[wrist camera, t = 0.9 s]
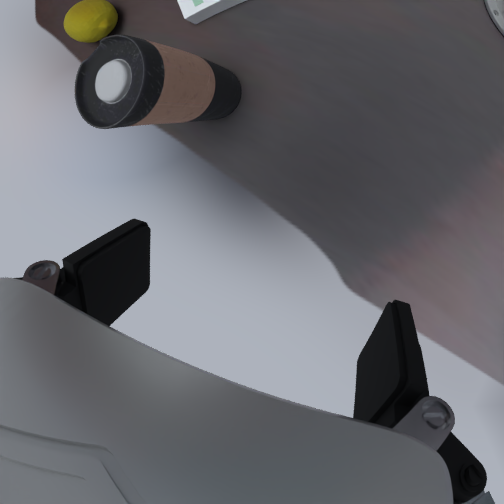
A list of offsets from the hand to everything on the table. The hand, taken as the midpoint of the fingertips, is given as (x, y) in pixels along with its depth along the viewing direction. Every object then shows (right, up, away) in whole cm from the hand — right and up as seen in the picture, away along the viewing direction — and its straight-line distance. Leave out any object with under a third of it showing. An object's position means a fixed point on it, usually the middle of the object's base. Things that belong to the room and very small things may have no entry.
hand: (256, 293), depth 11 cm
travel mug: (-5, +22, +24) cm, 33 cm away
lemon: (-24, +39, +22) cm, 51 cm away
